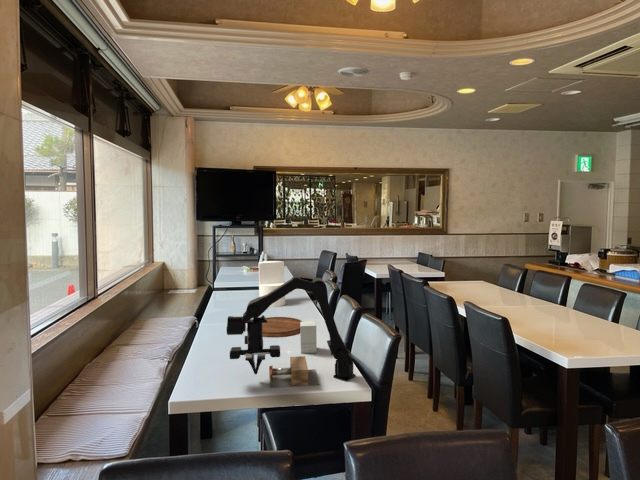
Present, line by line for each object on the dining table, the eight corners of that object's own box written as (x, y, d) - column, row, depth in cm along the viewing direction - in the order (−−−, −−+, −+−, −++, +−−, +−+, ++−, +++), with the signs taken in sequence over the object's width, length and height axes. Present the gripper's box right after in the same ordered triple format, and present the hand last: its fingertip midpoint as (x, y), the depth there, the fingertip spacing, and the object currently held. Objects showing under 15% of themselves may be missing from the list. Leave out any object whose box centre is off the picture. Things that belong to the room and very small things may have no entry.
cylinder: (256, 302, 286) (255, 261, 284) (280, 299, 293) (279, 260, 291) (263, 308, 271) (263, 265, 268) (289, 305, 278) (288, 263, 275)
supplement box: (316, 347, 196) (316, 321, 195) (316, 353, 189) (316, 325, 188) (300, 347, 196) (300, 321, 195) (300, 353, 188) (300, 325, 187)
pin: (295, 374, 163) (295, 362, 163) (296, 379, 159) (296, 367, 158) (269, 375, 162) (269, 364, 162) (269, 380, 158) (269, 368, 157)
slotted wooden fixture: (315, 370, 169) (314, 355, 169) (318, 385, 155) (318, 369, 155) (270, 372, 167) (269, 357, 167) (269, 387, 153) (269, 371, 153)
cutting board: (292, 340, 207) (292, 335, 207) (235, 334, 217) (235, 329, 217) (314, 323, 237) (314, 319, 237) (263, 318, 247) (263, 314, 247)
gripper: (279, 326, 167) (280, 364, 168) (231, 328, 165) (232, 367, 166) (280, 335, 156) (280, 376, 157) (229, 337, 154) (230, 378, 155)
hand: (255, 374), depth 159 cm, fingers closed
